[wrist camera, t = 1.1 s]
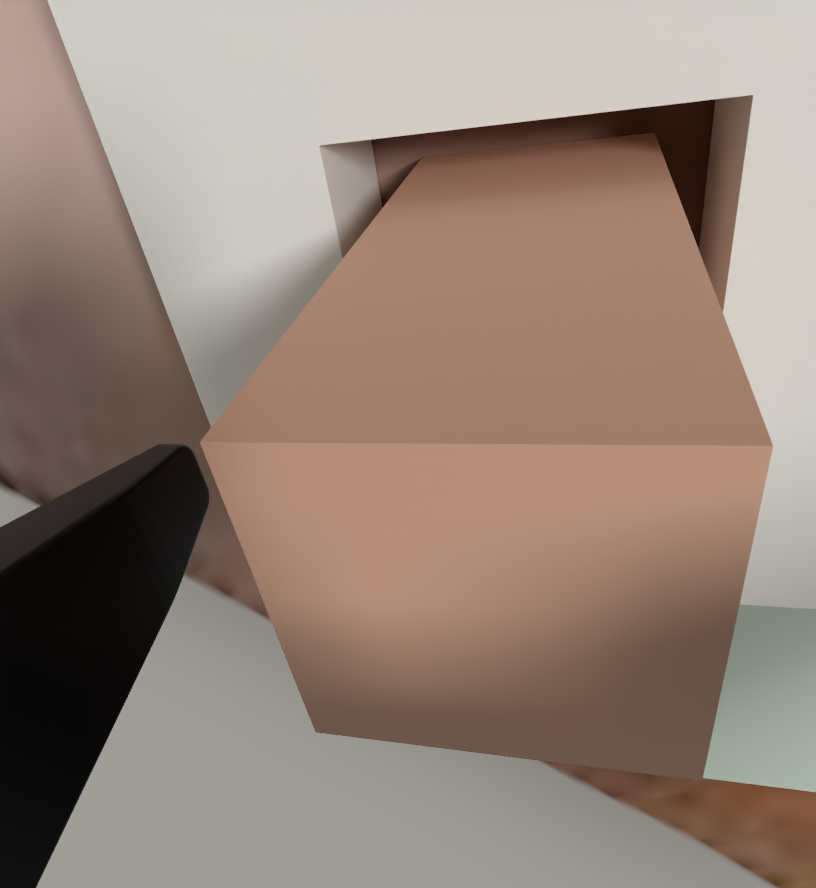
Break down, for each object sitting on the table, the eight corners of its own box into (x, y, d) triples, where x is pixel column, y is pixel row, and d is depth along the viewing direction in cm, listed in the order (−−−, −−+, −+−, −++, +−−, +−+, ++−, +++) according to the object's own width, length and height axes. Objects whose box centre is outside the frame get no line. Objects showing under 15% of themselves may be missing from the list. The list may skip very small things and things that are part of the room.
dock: (1106, -344, 8) (1314, -461, 6) (840, 518, 17) (882, 613, 14) (116, -105, 12) (2, -118, 10) (304, 502, 20) (267, 574, 18)
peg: (654, 132, 12) (772, 445, 5) (640, 346, 15) (702, 781, 7) (421, 157, 14) (199, 441, 6) (446, 351, 16) (315, 731, 8)
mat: (986, 589, 17) (994, 601, 17) (882, 788, 23) (886, 801, 22) (581, 568, 19) (582, 578, 19) (580, 752, 25) (580, 762, 25)
